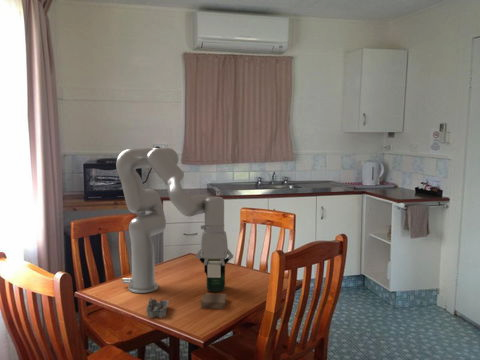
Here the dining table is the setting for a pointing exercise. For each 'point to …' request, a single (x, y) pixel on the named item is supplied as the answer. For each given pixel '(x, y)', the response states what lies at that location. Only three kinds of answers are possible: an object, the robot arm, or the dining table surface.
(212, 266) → the cube
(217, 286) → the coffee jar
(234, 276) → the dining table surface
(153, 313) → the egg carton
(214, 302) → the base
